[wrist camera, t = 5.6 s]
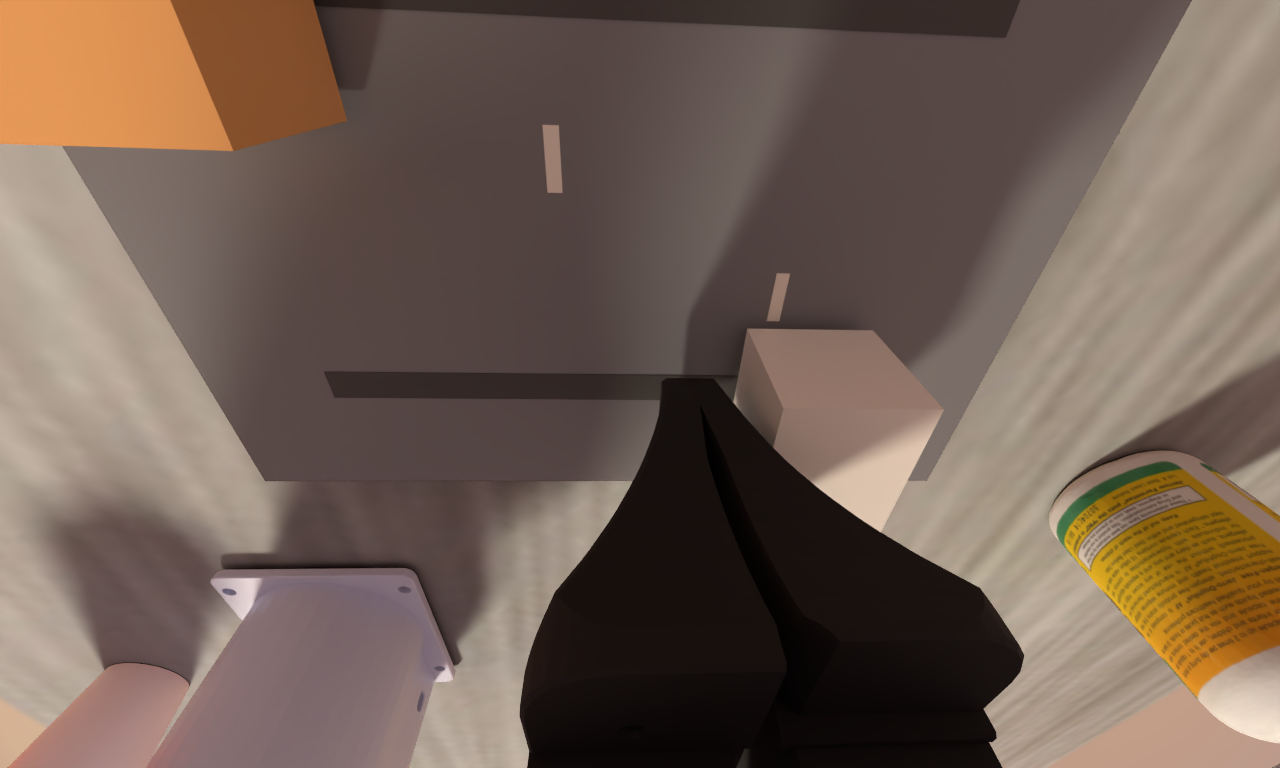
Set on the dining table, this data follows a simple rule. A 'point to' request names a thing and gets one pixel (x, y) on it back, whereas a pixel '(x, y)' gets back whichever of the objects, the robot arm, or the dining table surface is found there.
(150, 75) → the block
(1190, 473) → the supplement bottle
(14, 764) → the smoothie
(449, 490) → the dining table surface
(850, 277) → the fader console
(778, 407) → the off white fader
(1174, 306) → the dining table surface
